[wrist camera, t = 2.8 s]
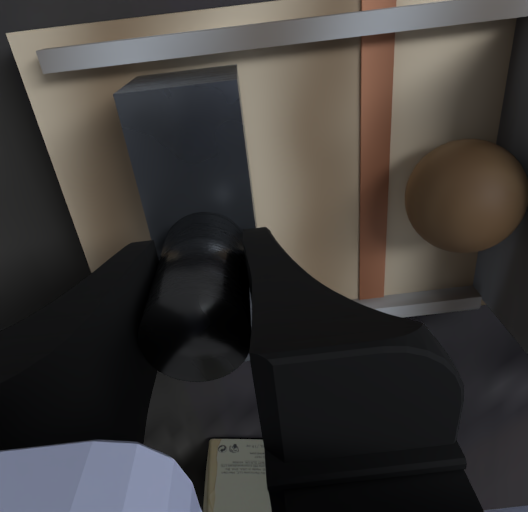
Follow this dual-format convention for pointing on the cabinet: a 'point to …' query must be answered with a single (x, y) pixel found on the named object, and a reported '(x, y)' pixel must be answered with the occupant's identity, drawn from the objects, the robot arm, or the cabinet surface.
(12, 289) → the cabinet surface
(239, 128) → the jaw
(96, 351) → the robot arm
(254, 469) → the skincare box
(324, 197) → the press
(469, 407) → the cabinet surface
